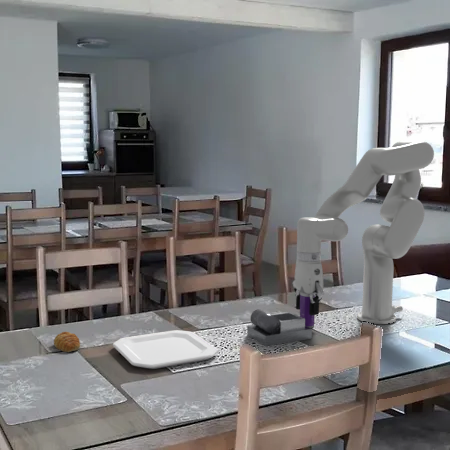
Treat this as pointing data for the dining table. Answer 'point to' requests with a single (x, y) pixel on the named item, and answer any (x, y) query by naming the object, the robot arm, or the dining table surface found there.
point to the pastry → (67, 342)
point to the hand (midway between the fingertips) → (307, 311)
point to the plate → (164, 349)
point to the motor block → (277, 328)
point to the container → (306, 308)
